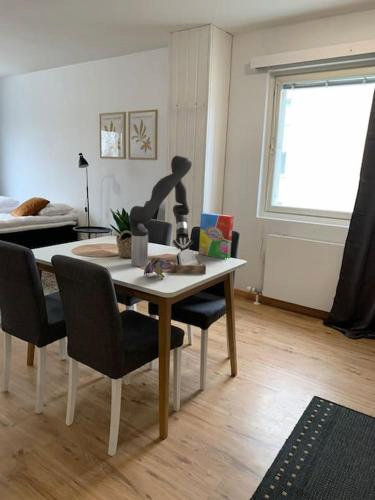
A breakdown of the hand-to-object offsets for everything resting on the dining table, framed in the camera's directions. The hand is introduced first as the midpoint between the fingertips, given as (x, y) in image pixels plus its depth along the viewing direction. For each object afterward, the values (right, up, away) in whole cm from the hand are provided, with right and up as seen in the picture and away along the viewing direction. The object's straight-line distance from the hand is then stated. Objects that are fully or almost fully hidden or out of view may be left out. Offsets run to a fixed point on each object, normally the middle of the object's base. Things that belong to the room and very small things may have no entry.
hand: (183, 254), depth 222 cm
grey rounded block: (+2, -7, -8) cm, 10 cm away
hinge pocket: (+3, -9, -21) cm, 23 cm away
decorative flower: (-13, -12, -34) cm, 38 cm away
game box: (+20, -2, +18) cm, 27 cm away
